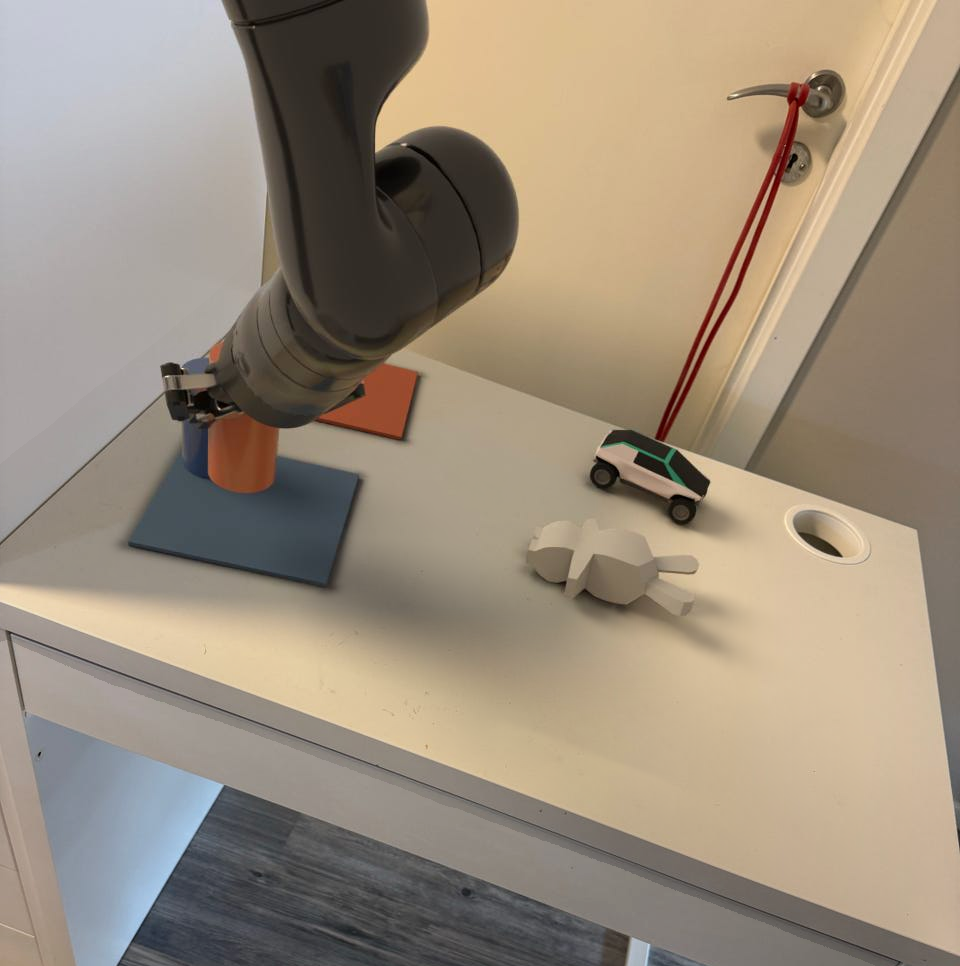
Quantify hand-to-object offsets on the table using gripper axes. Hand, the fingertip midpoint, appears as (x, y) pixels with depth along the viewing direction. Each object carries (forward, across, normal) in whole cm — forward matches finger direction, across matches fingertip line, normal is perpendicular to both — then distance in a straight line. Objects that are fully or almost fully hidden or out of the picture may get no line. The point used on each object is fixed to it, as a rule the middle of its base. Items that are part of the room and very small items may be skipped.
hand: (237, 413), depth 67 cm
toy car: (+6, -43, +9) cm, 44 cm away
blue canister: (+13, 0, +2) cm, 13 cm away
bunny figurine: (-2, -30, +18) cm, 35 cm away
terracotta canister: (+2, 0, +4) cm, 5 cm away
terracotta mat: (+22, -16, -7) cm, 28 cm away
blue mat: (+9, -2, +6) cm, 11 cm away
